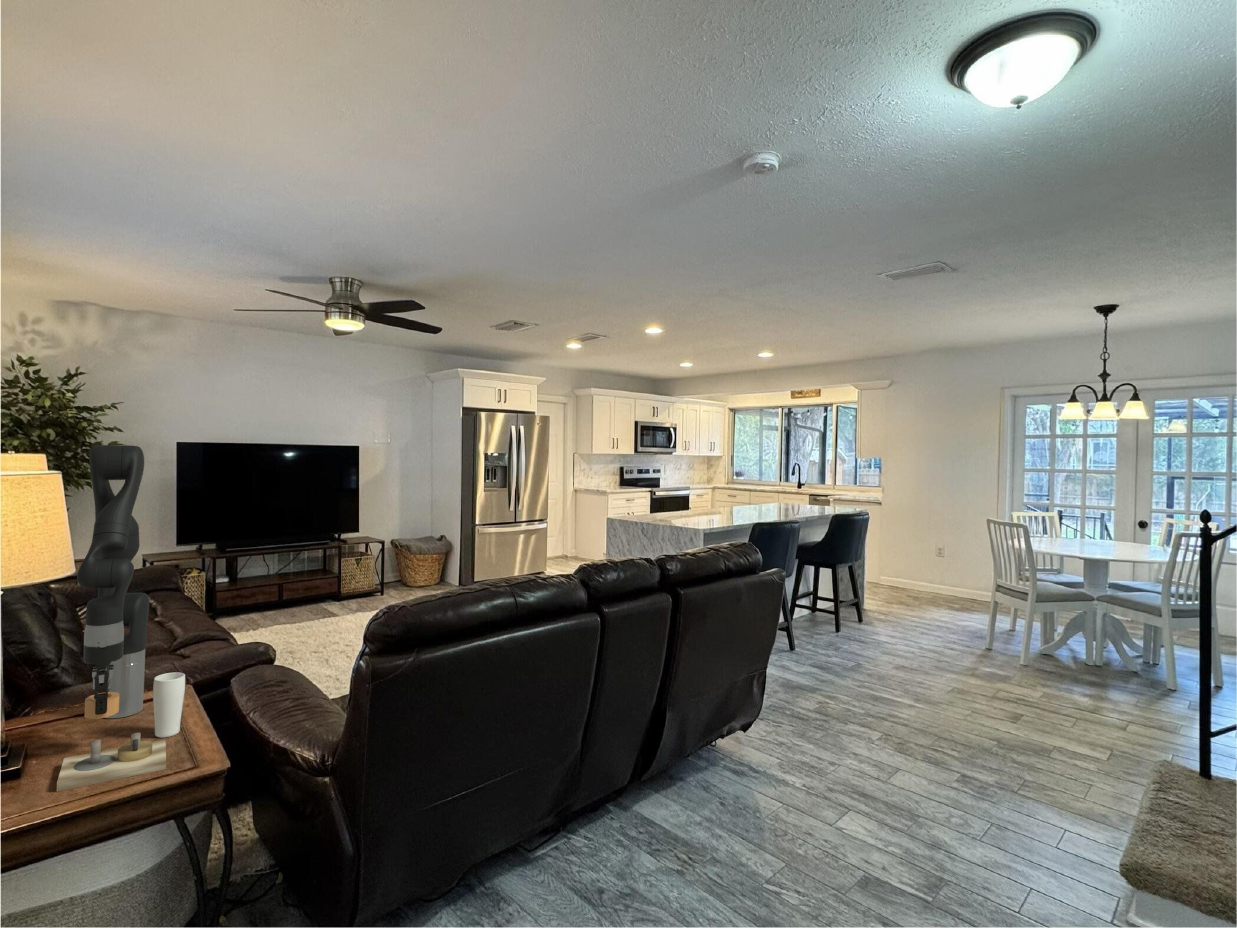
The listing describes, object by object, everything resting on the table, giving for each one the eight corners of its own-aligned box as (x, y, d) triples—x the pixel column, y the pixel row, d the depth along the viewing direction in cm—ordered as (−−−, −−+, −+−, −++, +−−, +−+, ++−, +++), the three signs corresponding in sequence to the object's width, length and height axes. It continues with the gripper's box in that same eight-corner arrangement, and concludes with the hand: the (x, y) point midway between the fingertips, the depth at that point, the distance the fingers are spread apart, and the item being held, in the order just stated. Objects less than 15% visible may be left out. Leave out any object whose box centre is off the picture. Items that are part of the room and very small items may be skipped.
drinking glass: (164, 727, 167) (166, 671, 167) (189, 729, 166) (191, 672, 166) (144, 738, 160) (146, 680, 160) (170, 740, 160) (172, 681, 160)
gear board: (63, 766, 145) (65, 736, 145) (165, 747, 156) (166, 719, 156) (56, 791, 134) (57, 759, 134) (165, 769, 146) (167, 739, 146)
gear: (85, 711, 154) (86, 695, 154) (119, 705, 158) (119, 690, 157) (83, 721, 149) (84, 704, 149) (118, 715, 152) (118, 699, 152)
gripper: (86, 634, 156) (84, 701, 157) (81, 651, 145) (79, 722, 145) (124, 630, 161) (122, 695, 161) (122, 646, 149) (120, 716, 150)
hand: (101, 708), depth 153 cm, fingers closed on gear, 6 cm apart
